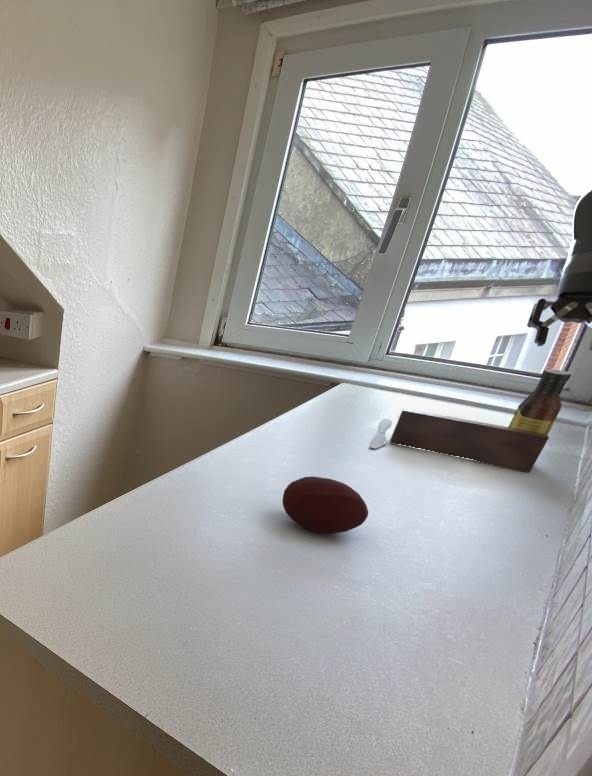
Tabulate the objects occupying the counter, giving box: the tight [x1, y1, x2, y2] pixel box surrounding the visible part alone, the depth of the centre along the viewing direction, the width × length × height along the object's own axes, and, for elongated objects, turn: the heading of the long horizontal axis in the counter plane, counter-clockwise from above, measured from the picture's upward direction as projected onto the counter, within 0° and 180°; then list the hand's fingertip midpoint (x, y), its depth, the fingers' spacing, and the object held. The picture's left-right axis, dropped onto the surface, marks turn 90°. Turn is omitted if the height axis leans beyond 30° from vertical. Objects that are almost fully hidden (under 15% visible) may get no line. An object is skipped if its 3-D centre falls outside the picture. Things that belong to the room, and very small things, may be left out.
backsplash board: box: [389, 407, 550, 474], centre depth 119 cm, size 24×2×8 cm, turn 53°
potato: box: [281, 475, 369, 535], centre depth 89 cm, size 12×11×8 cm
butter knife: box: [369, 418, 392, 450], centre depth 132 cm, size 1×27×3 cm
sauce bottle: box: [507, 368, 572, 436], centre depth 116 cm, size 6×6×20 cm
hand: (567, 347), depth 122 cm, fingers open, 8 cm apart
